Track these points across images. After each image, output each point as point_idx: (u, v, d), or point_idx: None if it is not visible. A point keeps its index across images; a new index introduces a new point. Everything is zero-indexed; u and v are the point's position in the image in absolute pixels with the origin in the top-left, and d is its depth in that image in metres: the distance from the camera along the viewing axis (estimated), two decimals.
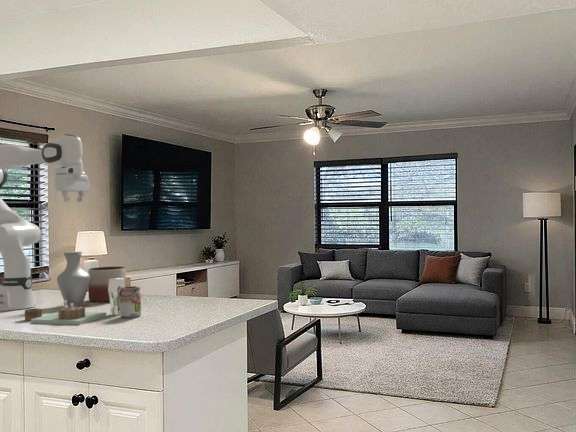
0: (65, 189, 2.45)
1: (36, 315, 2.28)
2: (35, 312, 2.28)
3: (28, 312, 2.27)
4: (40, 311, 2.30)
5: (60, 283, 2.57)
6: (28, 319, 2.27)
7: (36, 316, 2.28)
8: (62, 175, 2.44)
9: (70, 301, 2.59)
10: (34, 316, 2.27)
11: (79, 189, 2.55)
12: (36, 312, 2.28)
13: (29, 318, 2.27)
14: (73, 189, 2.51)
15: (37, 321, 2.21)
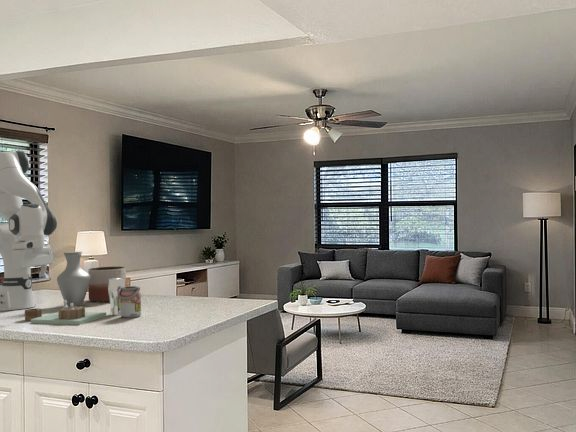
0: (24, 266, 2.23)
1: (36, 315, 2.28)
2: (35, 312, 2.28)
3: (28, 312, 2.27)
4: (40, 311, 2.30)
5: (60, 283, 2.57)
6: (28, 319, 2.27)
7: (36, 316, 2.28)
8: (20, 251, 2.21)
9: (70, 301, 2.59)
10: (34, 316, 2.27)
11: (41, 263, 2.32)
12: (36, 312, 2.28)
13: (29, 318, 2.27)
14: (33, 264, 2.28)
15: (37, 321, 2.21)
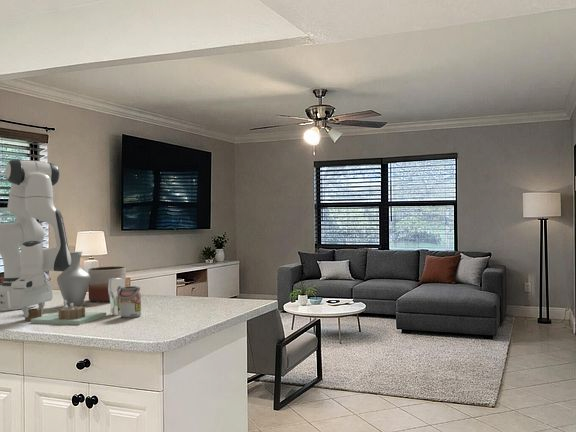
0: (23, 305, 2.22)
1: (36, 315, 2.28)
2: (35, 312, 2.28)
3: None
4: (40, 311, 2.30)
5: (60, 283, 2.57)
6: (28, 319, 2.27)
7: (36, 316, 2.28)
8: (20, 290, 2.21)
9: (70, 301, 2.59)
10: (34, 316, 2.27)
11: (40, 301, 2.31)
12: (36, 312, 2.28)
13: (29, 318, 2.27)
14: (33, 303, 2.27)
15: (37, 321, 2.21)
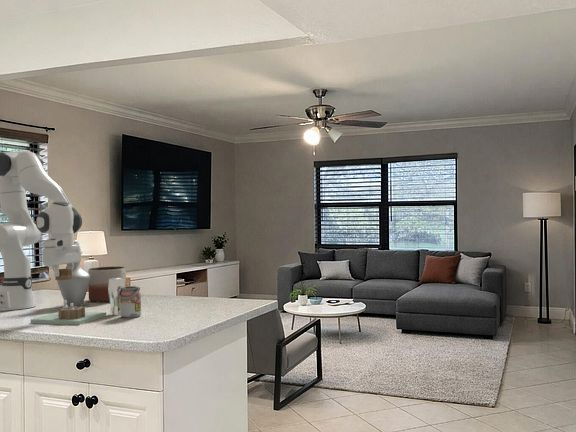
0: (54, 264, 2.24)
1: (67, 274, 2.30)
2: (66, 271, 2.30)
3: (59, 271, 2.29)
4: (70, 271, 2.32)
5: (60, 283, 2.57)
6: (59, 278, 2.29)
7: (67, 275, 2.30)
8: (51, 249, 2.23)
9: (70, 301, 2.59)
10: (65, 275, 2.29)
11: (70, 261, 2.34)
12: (67, 271, 2.30)
13: (60, 277, 2.29)
14: (63, 262, 2.29)
15: (37, 321, 2.21)
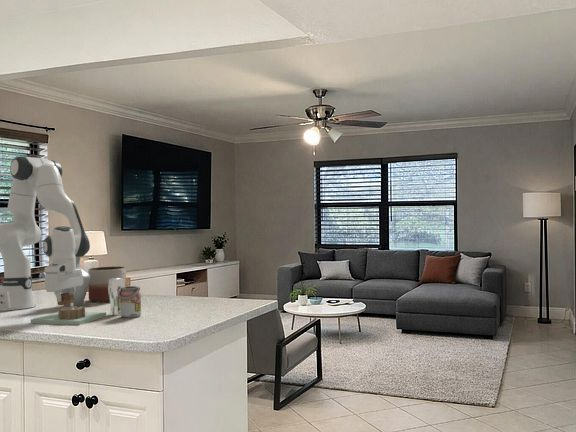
0: (56, 289, 2.24)
1: (69, 299, 2.30)
2: (68, 296, 2.30)
3: (61, 296, 2.29)
4: (72, 295, 2.32)
5: None
6: (61, 303, 2.29)
7: (69, 300, 2.30)
8: (53, 275, 2.23)
9: None
10: (67, 300, 2.30)
11: (72, 285, 2.34)
12: (69, 296, 2.30)
13: (62, 302, 2.29)
14: (65, 287, 2.30)
15: (37, 321, 2.21)
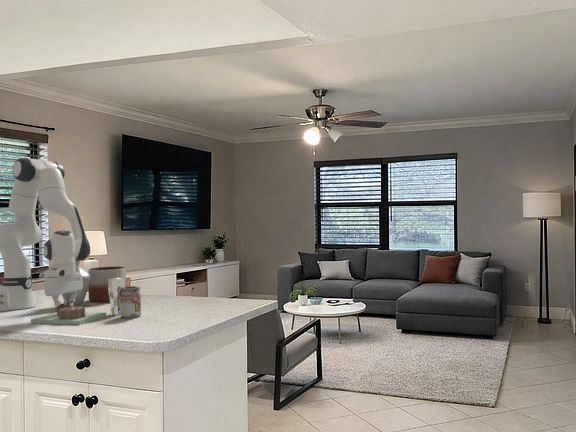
0: (56, 294, 2.24)
1: None
2: None
3: (60, 307, 2.29)
4: None
5: None
6: None
7: None
8: (53, 279, 2.23)
9: None
10: None
11: (71, 290, 2.34)
12: None
13: None
14: (65, 291, 2.30)
15: (37, 321, 2.21)
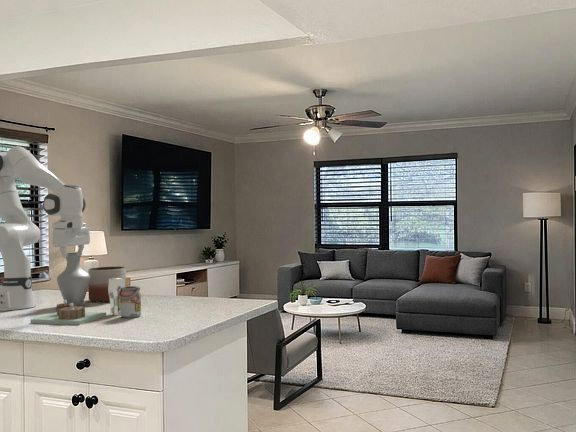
0: (63, 245, 2.30)
1: None
2: None
3: (60, 307, 2.29)
4: None
5: (60, 283, 2.57)
6: None
7: None
8: (61, 230, 2.28)
9: (70, 301, 2.59)
10: None
11: (79, 243, 2.39)
12: None
13: None
14: (72, 244, 2.35)
15: (37, 321, 2.21)
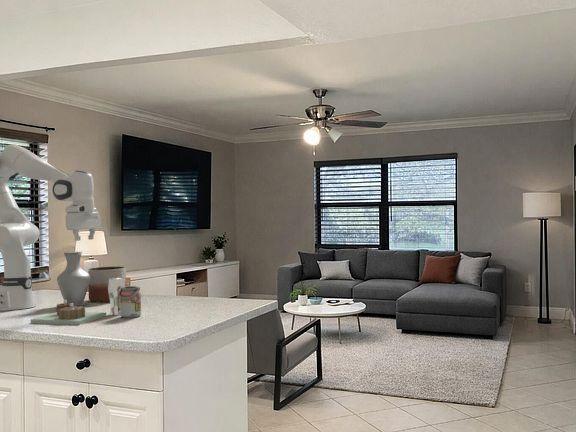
0: (76, 228, 2.37)
1: None
2: None
3: (60, 307, 2.29)
4: None
5: (60, 283, 2.57)
6: None
7: None
8: (74, 214, 2.36)
9: (70, 301, 2.59)
10: None
11: (90, 227, 2.47)
12: None
13: None
14: (84, 227, 2.42)
15: (37, 321, 2.21)
